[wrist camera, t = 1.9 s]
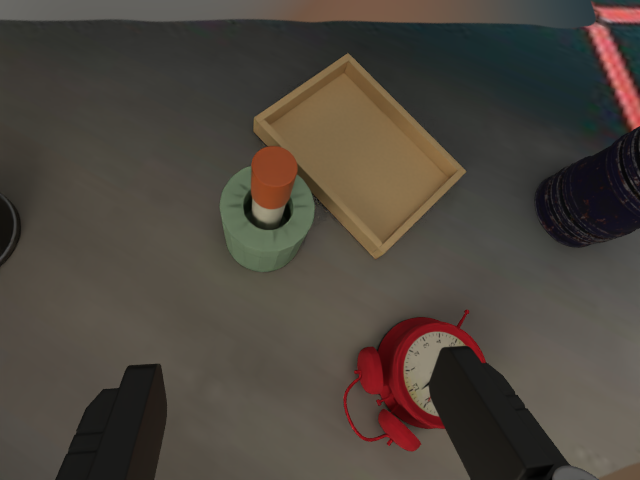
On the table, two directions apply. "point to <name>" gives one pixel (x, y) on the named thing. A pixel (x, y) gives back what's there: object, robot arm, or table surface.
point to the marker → (271, 185)
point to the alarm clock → (407, 375)
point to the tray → (360, 153)
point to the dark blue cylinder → (594, 196)
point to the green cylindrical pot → (257, 244)
